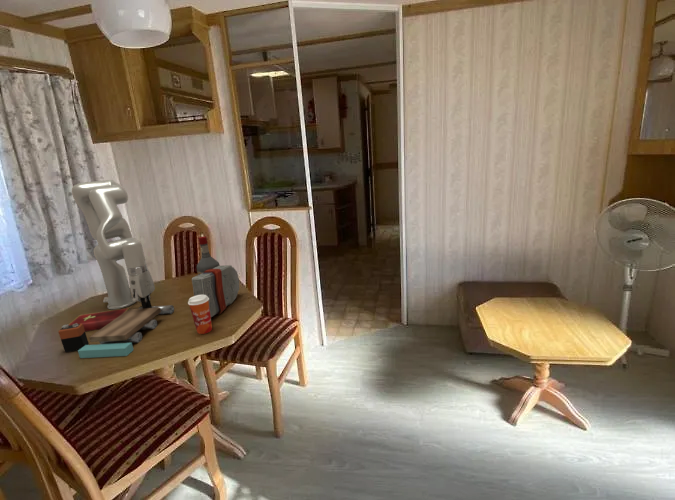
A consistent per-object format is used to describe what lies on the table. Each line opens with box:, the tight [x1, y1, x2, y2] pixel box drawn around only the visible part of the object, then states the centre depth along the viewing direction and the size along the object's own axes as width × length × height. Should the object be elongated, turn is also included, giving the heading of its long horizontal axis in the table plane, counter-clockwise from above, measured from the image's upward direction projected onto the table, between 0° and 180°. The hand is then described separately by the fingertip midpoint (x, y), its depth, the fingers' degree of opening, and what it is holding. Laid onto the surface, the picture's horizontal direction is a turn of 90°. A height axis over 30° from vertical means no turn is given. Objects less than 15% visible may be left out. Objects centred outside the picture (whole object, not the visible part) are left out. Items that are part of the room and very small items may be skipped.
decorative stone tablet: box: [191, 265, 240, 318], centre depth 162 cm, size 19×6×30 cm
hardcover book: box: [67, 307, 131, 333], centre depth 159 cm, size 12×21×4 cm, turn 100°
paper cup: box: [187, 295, 213, 335], centre depth 142 cm, size 8×8×14 cm
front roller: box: [138, 319, 158, 331], centre depth 151 cm, size 15×4×4 cm, turn 86°
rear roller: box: [138, 304, 175, 315], centre depth 164 cm, size 15×4×4 cm, turn 86°
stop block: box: [77, 343, 134, 359], centre depth 132 cm, size 18×4×3 cm, turn 86°
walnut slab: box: [88, 307, 161, 343], centre depth 145 cm, size 14×24×2 cm, turn 176°
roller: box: [99, 331, 143, 344], centre depth 141 cm, size 15×4×4 cm, turn 86°
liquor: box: [196, 236, 221, 276], centre depth 175 cm, size 9×9×30 cm
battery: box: [57, 323, 90, 353], centre depth 138 cm, size 4×7×10 cm, turn 103°
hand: (147, 309), depth 158 cm, fingers closed
